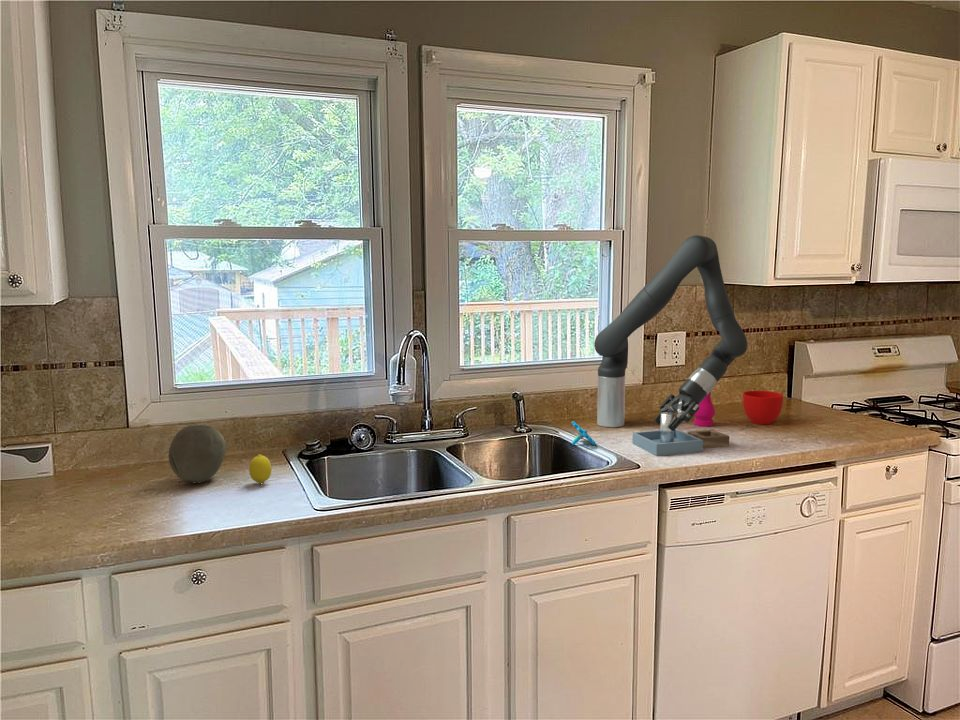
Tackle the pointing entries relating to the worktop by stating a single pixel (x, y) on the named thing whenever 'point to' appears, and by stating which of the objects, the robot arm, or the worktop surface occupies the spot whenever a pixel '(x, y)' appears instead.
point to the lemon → (260, 469)
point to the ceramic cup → (762, 406)
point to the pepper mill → (705, 412)
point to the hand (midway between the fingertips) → (663, 425)
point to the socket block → (711, 438)
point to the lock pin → (666, 428)
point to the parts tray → (679, 446)
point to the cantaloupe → (197, 453)
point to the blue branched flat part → (581, 435)
